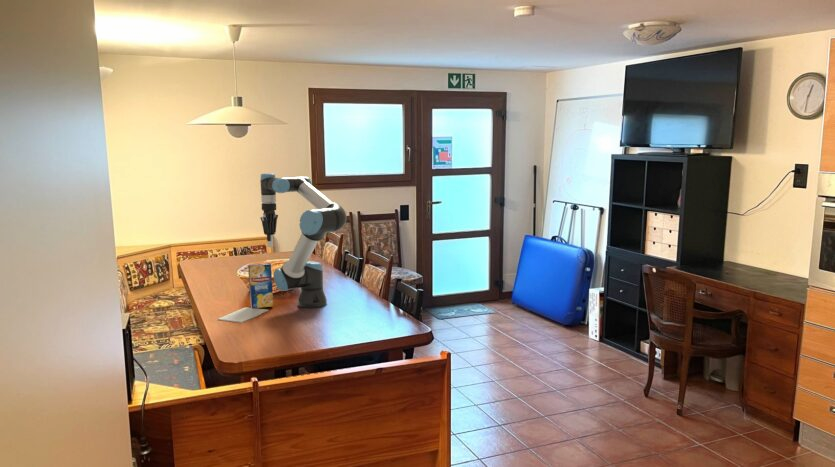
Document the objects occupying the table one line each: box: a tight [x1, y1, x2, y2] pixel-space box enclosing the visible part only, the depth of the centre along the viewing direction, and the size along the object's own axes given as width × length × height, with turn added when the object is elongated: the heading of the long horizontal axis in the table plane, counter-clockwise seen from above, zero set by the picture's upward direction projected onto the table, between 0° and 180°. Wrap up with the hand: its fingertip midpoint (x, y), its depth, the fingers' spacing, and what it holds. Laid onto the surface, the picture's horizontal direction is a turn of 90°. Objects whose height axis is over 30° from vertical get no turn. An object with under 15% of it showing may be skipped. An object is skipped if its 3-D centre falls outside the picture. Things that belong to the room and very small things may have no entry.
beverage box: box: [247, 263, 274, 309], centre depth 308 cm, size 7×11×22 cm, turn 112°
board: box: [217, 306, 270, 324], centre depth 293 cm, size 14×22×1 cm, turn 160°
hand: (270, 246), depth 313 cm, fingers closed
